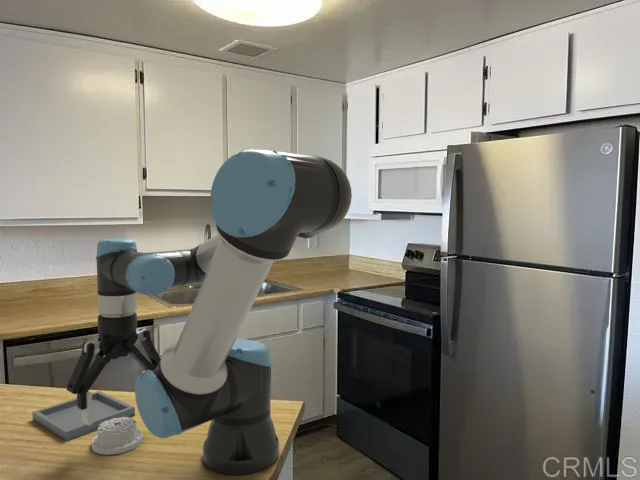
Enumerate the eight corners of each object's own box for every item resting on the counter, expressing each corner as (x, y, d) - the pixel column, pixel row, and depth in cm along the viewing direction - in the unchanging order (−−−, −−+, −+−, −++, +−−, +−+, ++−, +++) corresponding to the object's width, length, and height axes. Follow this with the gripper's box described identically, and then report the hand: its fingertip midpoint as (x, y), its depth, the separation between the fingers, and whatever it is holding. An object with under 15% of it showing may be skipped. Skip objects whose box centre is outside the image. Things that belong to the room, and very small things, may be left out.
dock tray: (134, 415, 115) (134, 407, 115) (66, 441, 102) (65, 432, 102) (99, 398, 125) (99, 390, 124) (32, 420, 112) (32, 411, 112)
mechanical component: (80, 453, 98) (125, 458, 96) (80, 432, 98) (124, 437, 96) (111, 430, 108) (152, 435, 106) (110, 411, 107) (151, 415, 105)
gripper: (158, 300, 112) (159, 389, 114) (45, 321, 93) (48, 427, 94) (178, 305, 108) (178, 397, 110) (64, 328, 88) (67, 440, 90)
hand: (118, 411), depth 102 cm, fingers open, 13 cm apart
